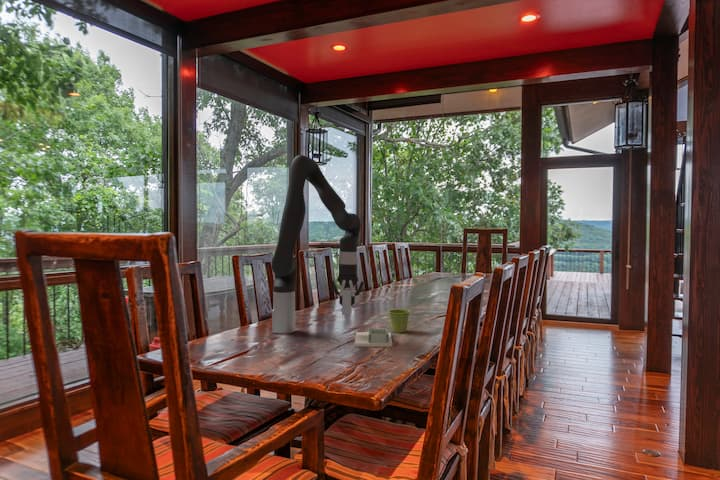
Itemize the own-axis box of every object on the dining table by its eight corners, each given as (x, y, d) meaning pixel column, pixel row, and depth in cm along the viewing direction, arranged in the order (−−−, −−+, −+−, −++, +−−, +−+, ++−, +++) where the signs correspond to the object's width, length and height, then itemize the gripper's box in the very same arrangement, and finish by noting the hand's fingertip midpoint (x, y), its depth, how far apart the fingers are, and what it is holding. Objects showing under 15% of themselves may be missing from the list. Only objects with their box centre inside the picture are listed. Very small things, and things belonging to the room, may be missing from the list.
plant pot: (385, 333, 192) (385, 312, 192) (392, 328, 201) (392, 308, 201) (406, 334, 189) (406, 313, 189) (412, 330, 198) (412, 310, 197)
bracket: (342, 314, 182) (342, 289, 182) (343, 311, 188) (343, 287, 188) (350, 314, 182) (351, 289, 182) (351, 312, 188) (352, 287, 188)
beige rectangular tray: (354, 346, 171) (354, 335, 170) (356, 335, 189) (356, 325, 188) (392, 346, 170) (392, 335, 170) (390, 335, 188) (390, 325, 188)
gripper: (329, 263, 181) (328, 306, 182) (365, 264, 180) (364, 307, 181) (331, 261, 189) (330, 303, 189) (365, 262, 188) (365, 304, 188)
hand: (347, 305), depth 185 cm, fingers closed on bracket, 3 cm apart
